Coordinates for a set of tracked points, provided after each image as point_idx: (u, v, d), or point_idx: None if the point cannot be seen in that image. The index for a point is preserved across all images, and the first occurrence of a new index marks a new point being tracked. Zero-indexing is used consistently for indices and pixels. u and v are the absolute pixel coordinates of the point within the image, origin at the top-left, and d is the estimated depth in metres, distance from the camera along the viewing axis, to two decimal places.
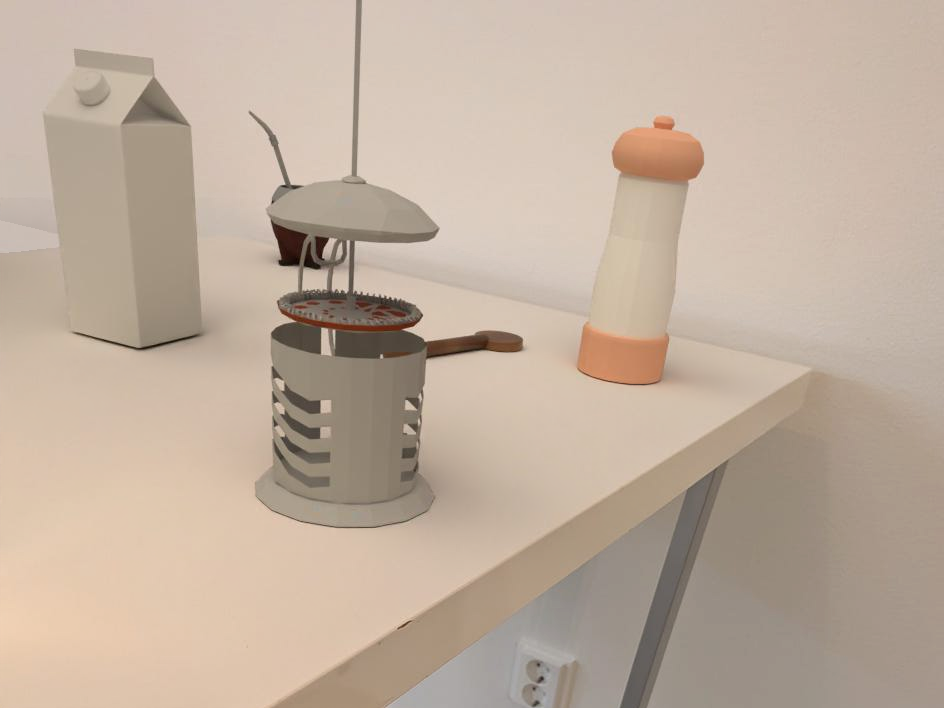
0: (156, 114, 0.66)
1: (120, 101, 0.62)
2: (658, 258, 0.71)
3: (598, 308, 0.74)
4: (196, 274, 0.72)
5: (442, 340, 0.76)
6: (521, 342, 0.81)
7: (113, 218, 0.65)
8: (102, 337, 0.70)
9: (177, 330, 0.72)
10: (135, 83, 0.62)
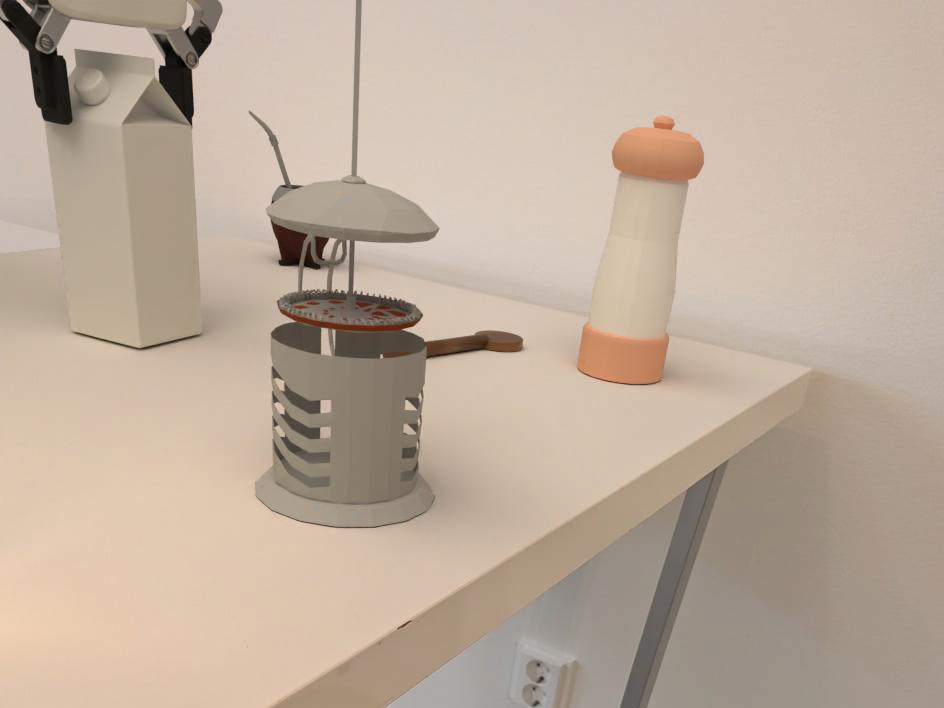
0: (157, 114, 0.66)
1: (120, 101, 0.62)
2: (658, 258, 0.71)
3: (598, 308, 0.74)
4: (197, 274, 0.72)
5: (442, 340, 0.76)
6: (521, 342, 0.81)
7: (114, 218, 0.65)
8: (102, 337, 0.70)
9: (177, 330, 0.72)
10: (136, 83, 0.62)
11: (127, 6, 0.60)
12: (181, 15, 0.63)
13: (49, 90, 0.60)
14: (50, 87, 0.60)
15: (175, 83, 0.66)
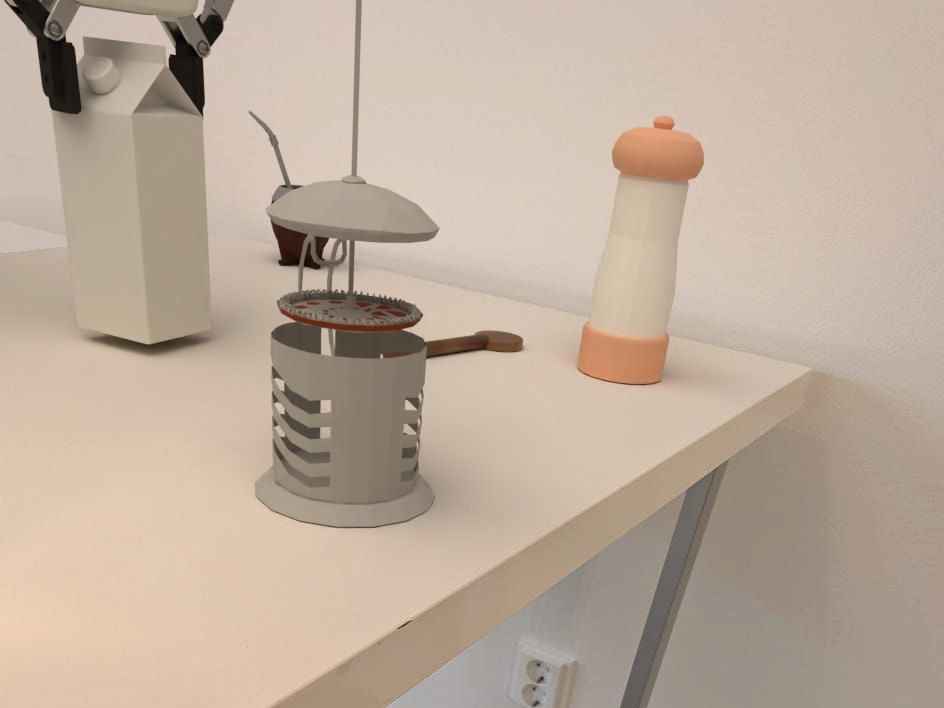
0: (167, 104, 0.64)
1: (131, 90, 0.60)
2: (658, 258, 0.71)
3: (598, 308, 0.74)
4: (207, 269, 0.70)
5: (442, 340, 0.76)
6: (521, 342, 0.81)
7: (123, 210, 0.63)
8: (110, 333, 0.68)
9: (187, 326, 0.70)
10: (146, 71, 0.61)
11: None
12: (192, 2, 0.62)
13: (57, 78, 0.59)
14: (58, 75, 0.59)
15: (186, 72, 0.64)
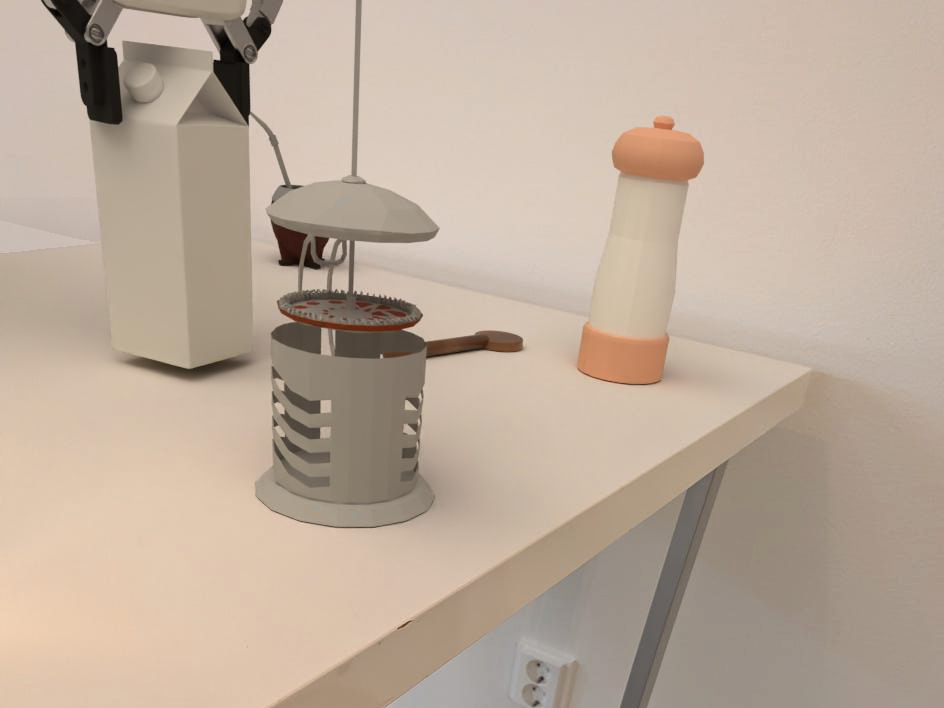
0: (211, 113, 0.60)
1: (175, 98, 0.56)
2: (658, 258, 0.71)
3: (598, 308, 0.74)
4: (249, 288, 0.66)
5: (442, 340, 0.76)
6: (521, 342, 0.81)
7: (165, 227, 0.59)
8: (148, 356, 0.64)
9: (228, 349, 0.66)
10: (192, 78, 0.57)
11: None
12: (241, 4, 0.58)
13: (98, 86, 0.54)
14: (99, 83, 0.54)
15: (231, 79, 0.60)
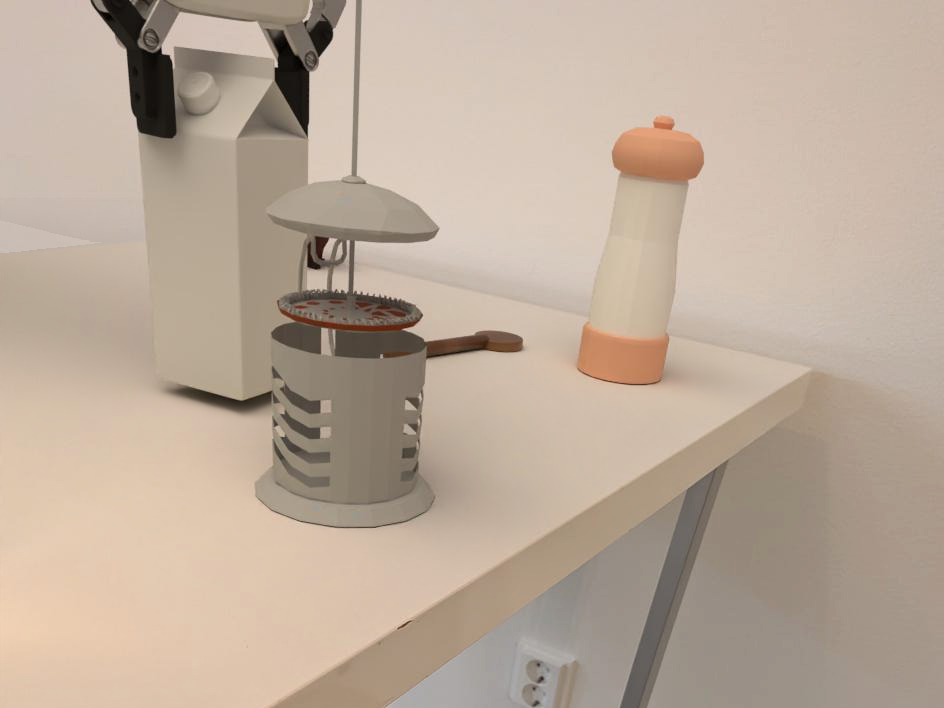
0: (268, 125, 0.55)
1: (233, 109, 0.51)
2: (658, 258, 0.71)
3: (598, 308, 0.74)
4: None
5: (442, 340, 0.76)
6: (521, 342, 0.81)
7: (219, 249, 0.54)
8: (196, 386, 0.59)
9: None
10: (251, 88, 0.52)
11: None
12: (303, 7, 0.53)
13: (151, 97, 0.50)
14: (152, 93, 0.50)
15: (290, 88, 0.55)
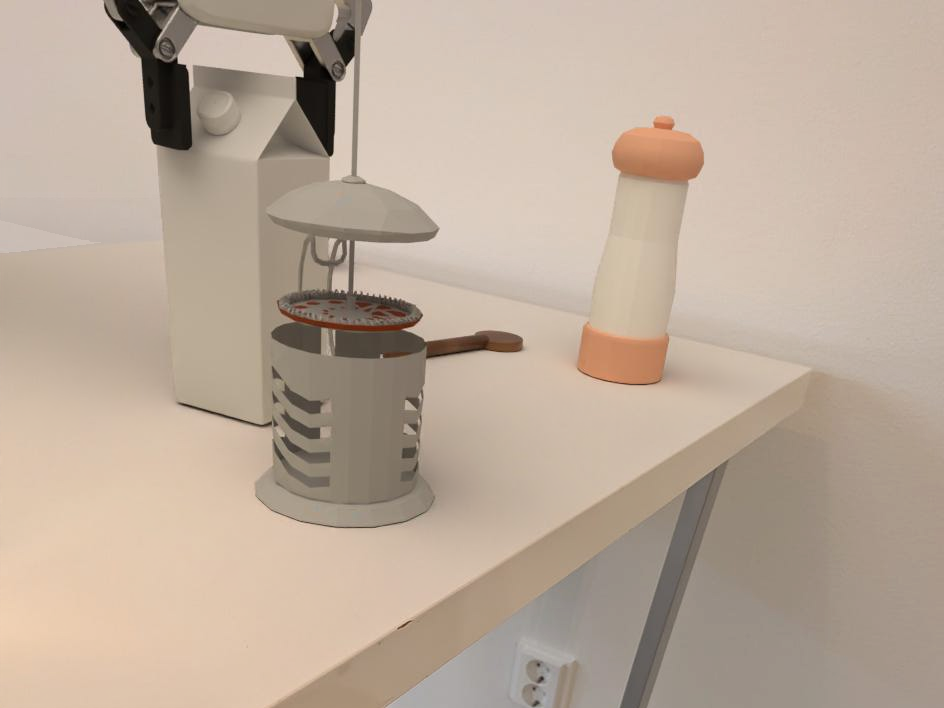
0: (289, 144, 0.54)
1: (254, 130, 0.50)
2: (658, 258, 0.71)
3: (598, 308, 0.74)
4: (325, 333, 0.60)
5: (442, 340, 0.76)
6: (521, 342, 0.81)
7: (240, 272, 0.53)
8: (215, 410, 0.58)
9: None
10: (272, 107, 0.51)
11: (268, 9, 0.49)
12: (327, 20, 0.52)
13: (166, 107, 0.48)
14: (167, 104, 0.48)
15: (316, 99, 0.54)
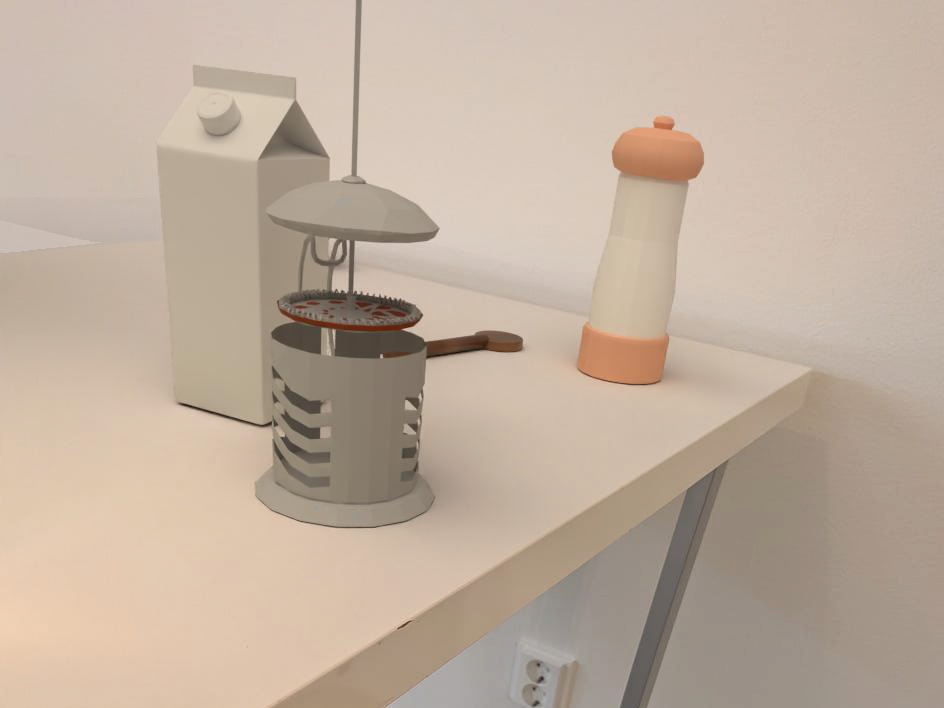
0: (289, 144, 0.54)
1: (254, 130, 0.50)
2: (658, 258, 0.71)
3: (598, 308, 0.74)
4: (325, 333, 0.60)
5: (442, 340, 0.76)
6: (521, 342, 0.81)
7: (240, 272, 0.53)
8: (215, 410, 0.58)
9: None
10: (272, 108, 0.51)
11: None
12: None
13: None
14: None
15: None
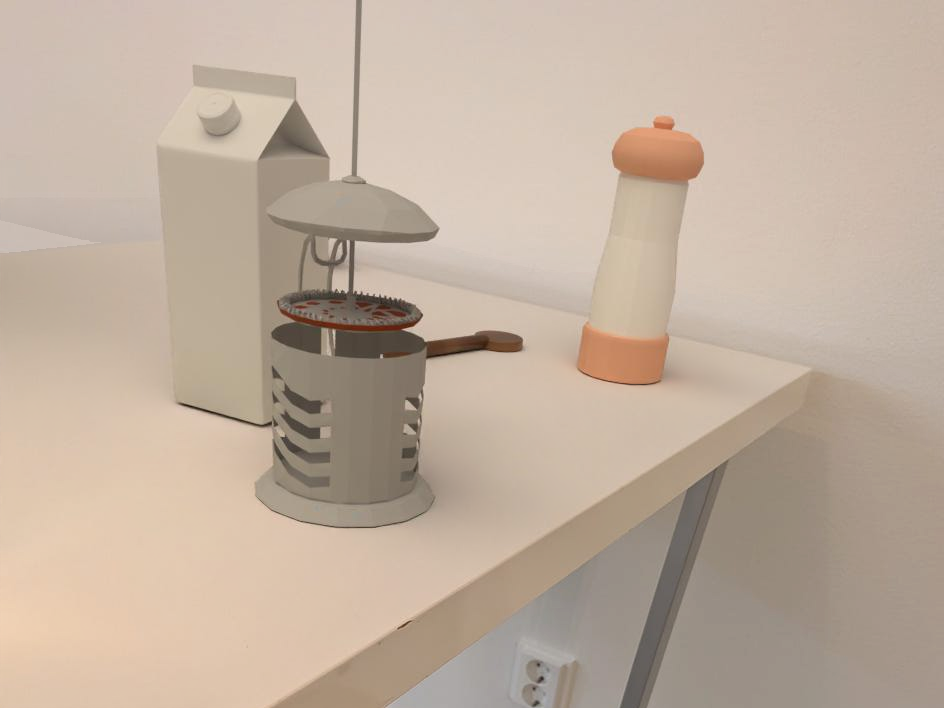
0: (289, 144, 0.54)
1: (254, 130, 0.50)
2: (658, 258, 0.71)
3: (598, 308, 0.74)
4: (325, 333, 0.60)
5: (442, 340, 0.76)
6: (521, 342, 0.81)
7: (240, 272, 0.53)
8: (215, 410, 0.58)
9: None
10: (272, 108, 0.51)
11: None
12: None
13: None
14: None
15: None
